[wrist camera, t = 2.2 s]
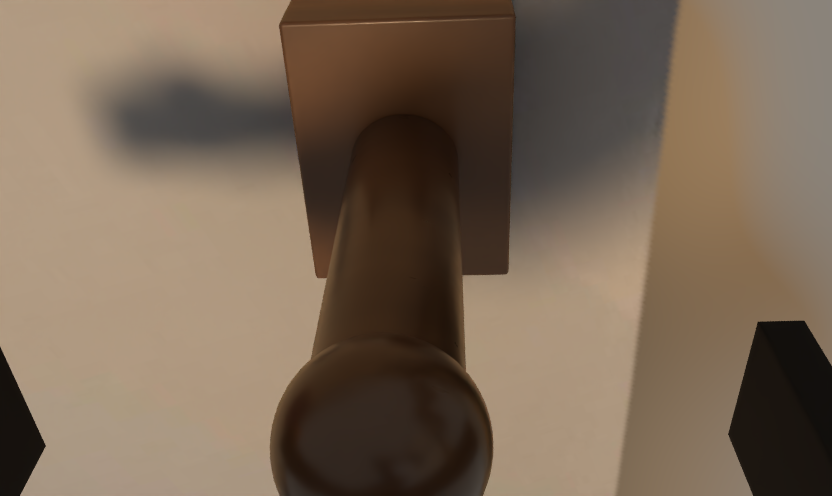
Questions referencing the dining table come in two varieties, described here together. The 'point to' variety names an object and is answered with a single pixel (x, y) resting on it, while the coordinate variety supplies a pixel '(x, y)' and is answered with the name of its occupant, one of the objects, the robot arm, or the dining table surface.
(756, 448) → the robot arm
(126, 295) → the dining table surface
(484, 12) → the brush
